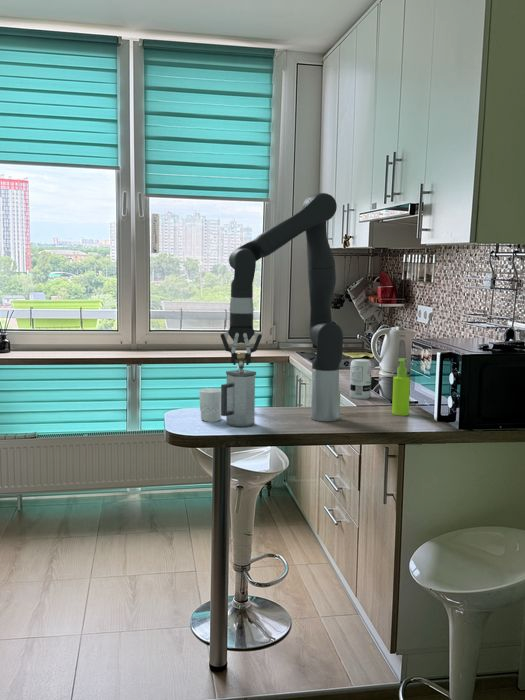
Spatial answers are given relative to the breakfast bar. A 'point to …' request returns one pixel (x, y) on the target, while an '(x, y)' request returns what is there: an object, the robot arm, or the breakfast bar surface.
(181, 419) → the breakfast bar surface
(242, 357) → the plunger
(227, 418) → the carafe
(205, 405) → the white cup
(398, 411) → the soap dispenser
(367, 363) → the supplement can
